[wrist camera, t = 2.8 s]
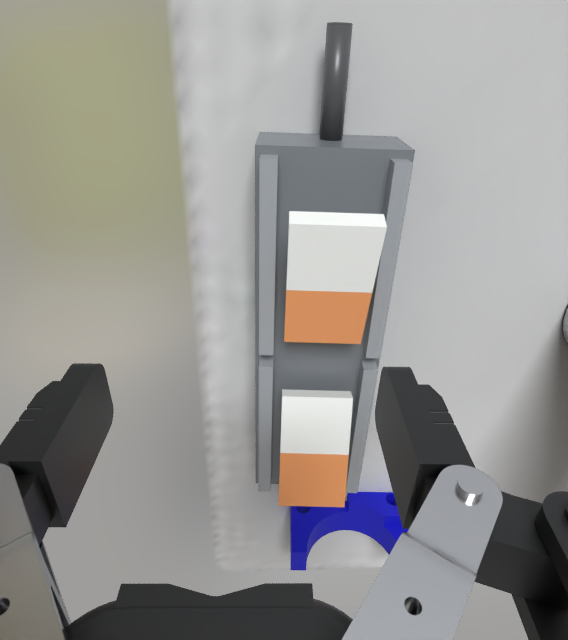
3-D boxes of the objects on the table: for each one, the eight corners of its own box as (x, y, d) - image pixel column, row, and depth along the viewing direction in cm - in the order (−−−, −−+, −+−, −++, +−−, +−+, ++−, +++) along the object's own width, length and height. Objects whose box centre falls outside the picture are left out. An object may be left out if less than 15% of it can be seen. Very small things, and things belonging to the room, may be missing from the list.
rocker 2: (282, 389, 33) (282, 396, 31) (350, 391, 33) (353, 398, 32) (278, 495, 35) (278, 505, 34) (342, 497, 35) (344, 507, 34)
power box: (260, 23, 26) (253, 14, 21) (412, 28, 26) (443, 20, 21) (258, 440, 44) (254, 494, 38) (351, 443, 44) (359, 497, 38)
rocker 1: (289, 211, 24) (289, 223, 23) (383, 214, 24) (387, 226, 23) (284, 328, 30) (284, 341, 29) (358, 330, 30) (360, 344, 29)
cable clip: (404, 491, 47) (418, 544, 42) (398, 518, 50) (411, 571, 45) (291, 489, 47) (291, 542, 42) (290, 516, 50) (290, 570, 45)
